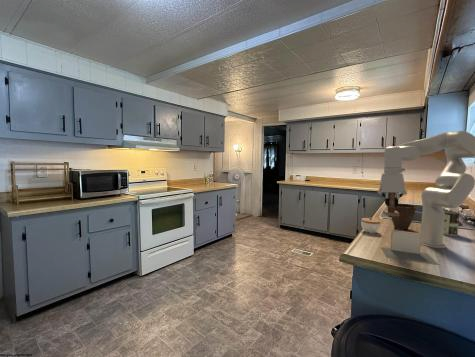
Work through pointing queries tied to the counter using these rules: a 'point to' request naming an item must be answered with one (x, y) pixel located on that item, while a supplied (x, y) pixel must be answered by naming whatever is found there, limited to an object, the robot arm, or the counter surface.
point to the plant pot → (403, 216)
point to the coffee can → (451, 223)
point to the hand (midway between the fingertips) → (391, 205)
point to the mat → (409, 256)
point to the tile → (405, 241)
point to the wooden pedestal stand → (391, 206)
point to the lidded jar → (370, 225)
